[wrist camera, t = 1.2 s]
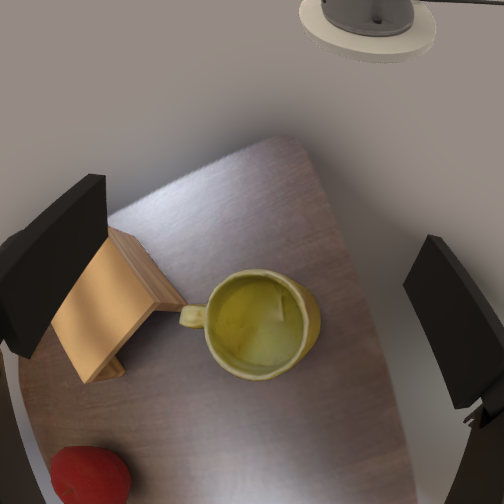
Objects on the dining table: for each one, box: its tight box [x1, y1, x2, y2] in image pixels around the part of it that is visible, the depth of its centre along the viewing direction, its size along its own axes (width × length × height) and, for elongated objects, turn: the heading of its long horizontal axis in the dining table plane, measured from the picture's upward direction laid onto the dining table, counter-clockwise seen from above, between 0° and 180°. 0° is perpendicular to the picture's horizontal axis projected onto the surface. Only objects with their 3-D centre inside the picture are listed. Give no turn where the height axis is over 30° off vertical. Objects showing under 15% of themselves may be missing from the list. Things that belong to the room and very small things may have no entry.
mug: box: [179, 269, 321, 381], centre depth 29 cm, size 12×10×10 cm
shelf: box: [51, 226, 188, 384], centre depth 34 cm, size 14×12×7 cm
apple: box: [51, 446, 132, 504], centre depth 28 cm, size 11×11×12 cm
